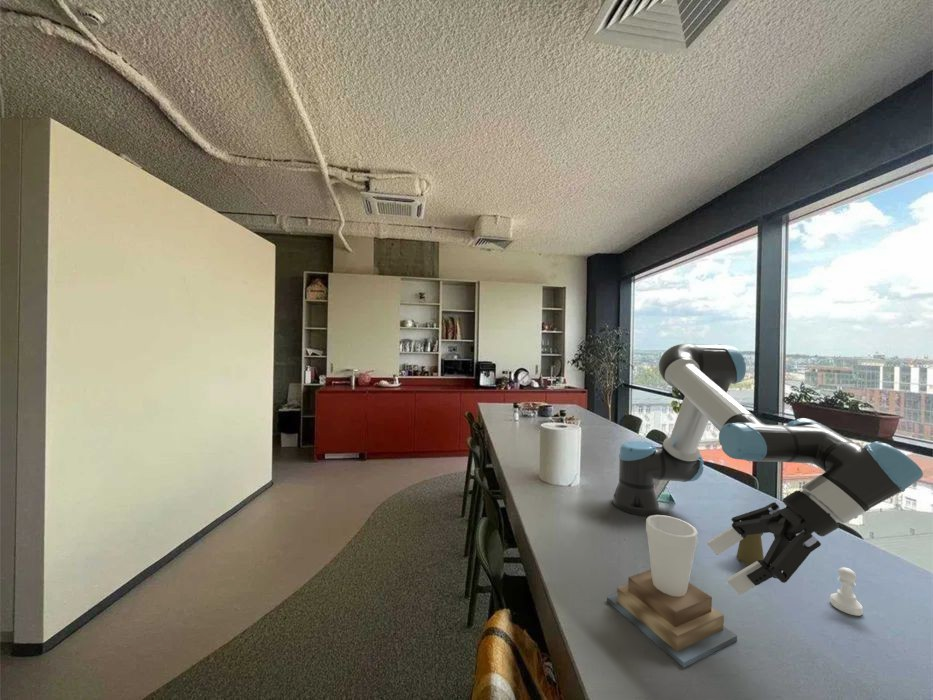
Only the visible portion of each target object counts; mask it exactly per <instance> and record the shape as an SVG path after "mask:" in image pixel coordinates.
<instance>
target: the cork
mask: <svg viewBox="0 0 933 700" xmlns="http://www.w3.org/2000/svg"><path fill="white" fill-rule="evenodd" d="M763 535H764V533H760V534H752V535H747V536H746V538H743V537H742V538H743V539H742V540H741V541H739V542H738V543H739V544H738V547H737V553H736V558H737V560H739V562H741V563H743V564H744V565H747V566H749V565H751V564H753V563H754V562H756V561H757V560H763V559H764V557H765V555H764V550H763V542H762V536H763Z"/></svg>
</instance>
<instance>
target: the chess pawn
mask: <svg viewBox="0 0 933 700" xmlns="http://www.w3.org/2000/svg"><path fill="white" fill-rule="evenodd" d="M838 576H839V577H838V578H837V580H838V581H839V582H840V583H841V587H840V589H839V588H837V590H836V591H837V592H834V593H831V594H830V601H829V603H830V604H831V605H832V606H833V607H834V608H836V609H838V610H839V611H841V612H842V613H845V614H848V615H852V616H856V617H859V616H862V615H863V613H864V612H863V609H864V608H863V607H864V606H863V605H862V604H861V603H860V602H859V601H858V600H857V596H856V595H855V594H854V591H853V587H857V584H856V581H857V575H856V572H855V571H853V570H852V569H851V568H848V567H843V566H842V567H840V568H839V569H838Z"/></svg>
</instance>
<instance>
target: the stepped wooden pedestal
mask: <svg viewBox="0 0 933 700" xmlns="http://www.w3.org/2000/svg"><path fill="white" fill-rule="evenodd" d="M627 577H628V580H627V581H628V584H625V585H622V586H618V587H617V592H615V593H613V594H611V595H608V596H606V602H608V603H609V604H610V605H611V606H612V607H613V608H614V609H615V610H616V611H617V612H618V613H620V614H621V615H622V616H624V618H626V619H627V621H628V622H630V623H631V624H633V626H635V627H636V628H637V629H638V630H639V631H641V632H642V633H643V634H644V635H645V636H647V638H648V639H649V640H651V641H652V642H653V643H654V644H655V645H657V646H658V647H659V649H661V650H662V651H664V652H665V653H666V654H667V655H669V657H670V658H672V660H673V661H675V662H676V663H677V664H679V666H681V667H682V668H683V669H685V668H687V667H689V666H690V665H692V664H694V663H697V662H698V661H700V660H702V659H704V658H706V657H708V656H710V655H712V654H714V653H715V652H718V651H720V650H721V649H723V648H726V647H727V646H729V645H731V644H733V643H735V642H737V641H738V635H737V634H736V633H734V631H731V630H730V629H728V628H727V627H725V625H724V623H725V622H724V620H725V619H724V617H725V614H723V613H722V612H720V611H719V610H717V609H716V608H714V607H713V606H712V605H713V597H712V596H711V595H710V594H708V593H706V592H704V591H703V590H702V589H700V588H698V587H697V586H695V585H694V584H692V583H690V582H689V583H688V588H687V592H686V594H685V595H684V596H680V597H677V596H671V595H668V594H666V593H663V592H662V591H660V590H658V589H657V588H656V587H655V586H654V585H653V581H652V573H651V569H649V570H647V571H646V570H645V571H643V572H640V573H637V574H633V575H631V576H627Z"/></svg>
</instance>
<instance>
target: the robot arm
mask: <svg viewBox="0 0 933 700" xmlns="http://www.w3.org/2000/svg"><path fill="white" fill-rule="evenodd" d="M658 371H659V374H660V376H661V378H662V379H663V380H664V381H665V382H666V383H667V384H668V386H670V387H672V388H675V389H677V390H679V392H680V393H681V394H683V396H684V398H683V400H682V402H681V405H680V408H679V411H678V414H677V417H676V419H675V422H674V426H673V428H672V432H671V434H670V436H669V437H666V438H665V439H664V440H663V443H662V445H661V446H656V445H655V444H654V443H653V442H650V441H645V440H644V441H643V440H630V441H626V442H624V443H622V444H621V446H620V448H619V450H620V451H619V455H618V458H619V463H618V464H619V467H618V468H619V469H618V470H619V471H618V483H617V486H616V489H615V491H614V494H613V499H612V502H613V505H614V507H617V508H618V509H619V510H621V511H623V512H626V513H629V514H632V515H636V516H642V517H643V516H644V517H649V516H652V515H658V513H659V512H660V511H659V510H660V508H659V507H660V506H659V502H658V499H657V496H656V492H655V481H656V480H657V481H670V482H683V483H684V482H685V483H686V482H695V481H697V480H699V479H700V478H701V476H702V474H703V472H704V468H705V467H704V466H703V465H704V464H705V463H704V459H703V458H704V457H703V456H702V454H701V452H700V449H699V448H698V447H699V445H700V442H701V441H702V438H703V435H704V433H705V431H706V429H707V426H708V423H709V422H710V423H711V425H713V426H714V427H715V428H716V430H717V431H719V432H718V442H719V445H720V446H721V450H722V452H723V453H724V454H725V455H726V456H727V457H729V458H731V459H735V460H741V461H742V460H743V461H747V462H766V463H767V462H769V463H771V462H773V463H793V464H811V465H815V466H816V467H818V468H819V469H821V470H822V471H823V473H821V474H820V475H818V476H816V477H815V478H813V479H812V480H810V481H809V482H806V484H804V485H802V486H801V489H802V491H801V490H795V491H793V492H791V493H790V494H788V495H786V496H785V497H783V498H782V502H783V504H784V505H785V506H786V507H783V508H782V507H781V506H780V505H779V504H778V503H777V502H776V501H775V502H774V501H773V502H771V503H769V504H768V505H765V506H764V507H761V508H758V509H755V510H751V511H749V512H745V513H742V514H739V515H736V516H734V517H731V519H730V520H731V522H732V523H731V527H729V528H728V527H727V529H725V530H724V531H722V532H720V533H719V534H717V535H716V536H715V537H713V538H712V539H710V540H708V541H707V542H706V543H705V544H706V545H707V546H708V547H709V548H710V549H711V551H713V553H714V554H716V555H717V556H718V555H720V554H721V553H723V552H725V551H726V550H728V549H729V548H731V547H733V546H734V545H736V544H737V543H740V541H741V540H742V539H743V538H746V536H747V535H752V534H760V533H763V534H766V533H769V534H773V537H774V539H773V541H772V543H771V544H770V547H769V549H768V550H767V552H766V554H765V555H764V559H763V560H757V561H756V562H754V563H753V564H751V565H747V566H745V567H744V568H743V569H741V570H739V571H738V572H736V573H734V574H733V575H730V576H729V577H727V578H726V579H725V580H726V582H727V583H728V584H729V586H731V588H733V589H734V591H736V593H737V594H738V596H741V595H742V594H743V593H746V592H748V591H749V590H751V589H753V588H754V587H756V586H758V585H759V586H760V585H761V584H762V583H764V582H766V581H767V580H769V579H771V578H773V579H777V580H779V581H780V583H782V584H783V583H785V584H786V583H787V582H788V581H789V580H790V579H791V577H792V576H793V575H794V573H796V571H797V570H798V568H800V566H801V565H802V564H803V563H804V561H806V559H807V557H809V556H810V555H811V553H813V551H815V550H816V549H818V548H820V547H821V545H822V543H821V541H819V540H818V539H817V538H816V537H815V536H814V535H813V533H815V534H816V535H818V536H819V537H825V536H827V535H829V534H830V533H832V532H834V531H835V530H838V529H839V526H840V525H839V523H840V524H843V525H845V524H847V523H849V522H851V521H852V520H853V519H854V520H856V519H857V518H859V517H858V516H860V515H862V514H864V513H866V512H867V511H870V509H872V508H874V507H876V506H877V505H878V504H879V505H880V504H881V503H883V502H885V501H887V500H888V499H891V498H893V497H894V496H896V495H899V494H900V493H904V492H905V491H906V489H908V488H909V487H911V486H912V485H914V484H915V483H916V482H918V481H920V480H921V479H922V478H923V475H924V473H923V469H922V468H921V467H920V466H919V465H918V464H917V462H916V461H914V460H913V459H912V458H911V457H910V456H908V455H907V454H905V453H903V452H902V451H900V450H899V449H897V448H895V447H894V446H892V445H890V444H888V443H886V442H885V443H884V442H882V441H873V442H871V443H869V444H865V445H864V446H863V445H861V444H858V443H856V442H854V441H853V440H851V439H849V438H847V437H845V436H844V435H842V434H840V433H838V432H837V431H835V430H833V429H831V427H828V426H827V425H824V423H823V424H822V423H820V422H817V421H816V420H813V419H810V418H805V417H801V418H797V419H795V420H791V421H789V422H788V423H786V424H785V425H783V424H766V423H764V422H763V421H761V419H759V418H758V417H757V416H755V415H754V413H751V411H749V410H748V408H745V407H744V406H743V405H742V404H741V403H740V402H739V401H737V400H736V399H735V398H734V397H733V396H732V395H730V394H729V393H727V392H728V390H729V389H730V388H729V387H731V386H730V385H731V384H738V383H740V382H742V381H743V380H744V378H745V376H746V372H747V366H746V361H745V357H744V355H743V353H741V351H740V350H739V349H738V348H737V347H735V346H732V345H725V344H724V345H723V344H702V343H701V344H696V343H681V344H680V343H679V344H676V345H673V346H671V347H670V348H668V349H667V350H665V352H663V353H662V355H661V357H660V359H659V362H658ZM742 537H743V538H742Z"/></svg>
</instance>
